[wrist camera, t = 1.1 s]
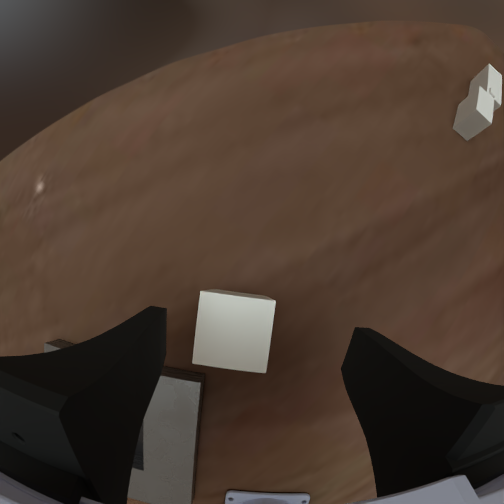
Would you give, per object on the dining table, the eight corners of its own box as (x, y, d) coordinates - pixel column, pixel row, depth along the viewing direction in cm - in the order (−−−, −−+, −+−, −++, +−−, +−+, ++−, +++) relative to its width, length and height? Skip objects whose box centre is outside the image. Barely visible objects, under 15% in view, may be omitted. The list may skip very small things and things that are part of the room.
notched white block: (472, 72, 28) (492, 52, 23) (511, 141, 27) (537, 126, 22) (401, 74, 27) (422, 46, 22) (449, 160, 26) (480, 139, 21)
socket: (194, 497, 21) (189, 515, 19) (66, 459, 21) (53, 471, 18) (204, 373, 23) (199, 385, 20) (59, 339, 23) (41, 343, 20)
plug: (258, 345, 23) (265, 373, 15) (208, 338, 23) (192, 363, 15) (265, 295, 24) (276, 300, 16) (215, 288, 24) (200, 290, 16)
